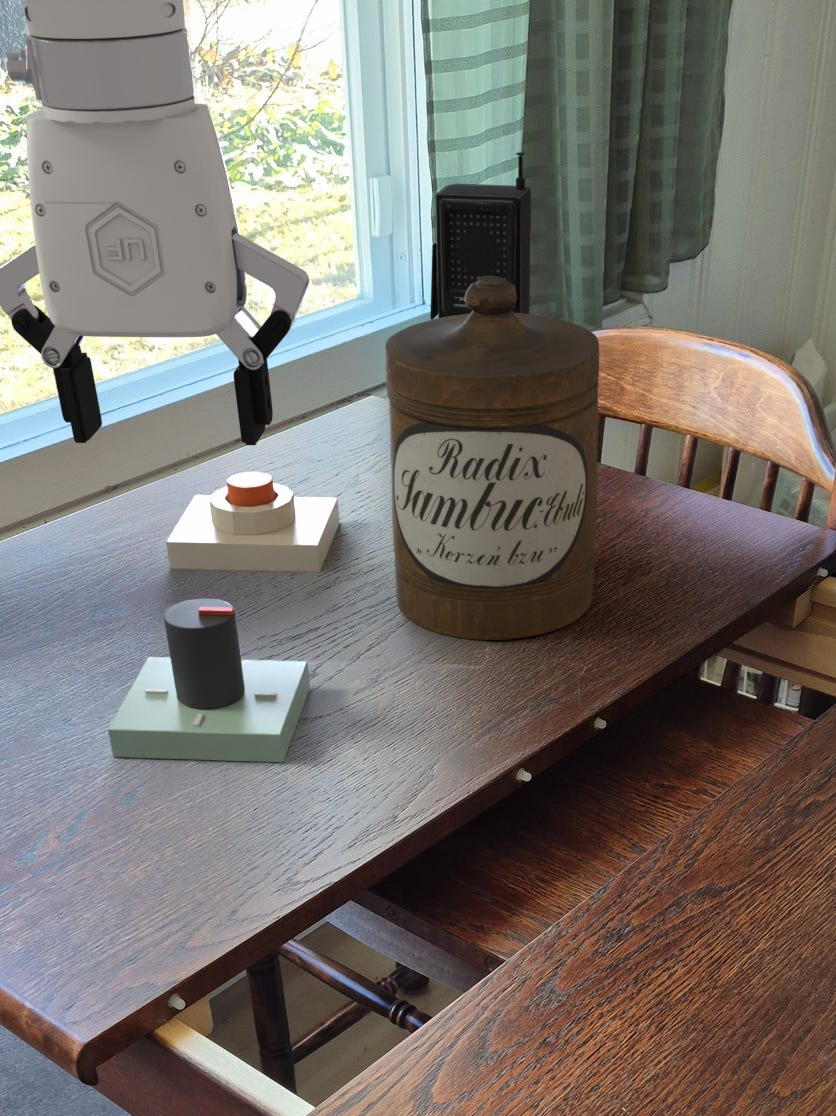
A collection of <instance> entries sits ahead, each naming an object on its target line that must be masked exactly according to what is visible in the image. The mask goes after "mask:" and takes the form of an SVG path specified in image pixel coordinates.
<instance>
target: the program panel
mask: <svg viewBox="0 0 836 1116" xmlns="http://www.w3.org/2000/svg"><path fill="white" fill-rule="evenodd" d="M241 663H242V671H243V678H244V686H245V692H244V695H243V696H242V697H241V698H240V699H239V700H238V701H236V702H235V703H233V704H230V705H228V706H224V707H220V708H214V709H197V708H192V707H188V706H186V705H184V704H182V703H181V702H180V701H179V700H178V698H177V695H176V689H175V683H174V677H173V671H172V665H171V658H170V657H155V656H148V657H147V658H146V660H145V662H144V663H143V665H142V667H141V669H140V670H139V673H138V674H137V676H136V678H135V680H134V681H133V683H132V684H131V687H130V688H129V690H128V692H127V694H126V696H125V698H124V700H123V701H122V703H121V705H120V706H119V708H118V710H117V712H116V714H115V716H114V717H113V719H112V721H111V722H110V724H109V726H108V728H107V733H108V739H109V744H110V749H111V753H112V757H114V758H129V759H131V758H133V759H159V760H160V759H162V760H163V759H165V760H192V761H193V760H195V761H223V762H224V761H225V762H226V761H227V762H254V763H255V762H258V763H284V761H285V758H286V756H287V753H288V750H289V747H290V744H291V742H292V739H293V738H294V734H295V731H296V728H297V725H298V723H299V720H300V717H301V715H302V712H303V709H304V706H305V704H306V700H307V698H308V696H309V692H310V690H311V682H310V681H311V680H310V671H309V662H308V661H302V660H301V661H298V660H267V659H266V660H265V659H259V660H258V659H241Z"/></svg>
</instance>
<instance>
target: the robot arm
mask: <svg viewBox="0 0 836 1116" xmlns="http://www.w3.org/2000/svg"><path fill="white" fill-rule="evenodd" d="M22 4H23V10H24V15H25V21H26V25H27V31H28V36H25V38H24V39H25V45H23V46H21V47H20V48H19V49H8V50H6V53H5V64H6V71H7V74H8V77H9V79H10V81H11V82H13V83H25V84H26V85H27V86H32V87H33V90H34V93H35V99H36V101H37V102H39V101H40V102H41V109H38V110H36V111H33V112H30V113H28V114H27V115H26V154H27V155H26V157H27V158H26V159H27V173H28V174H27V175H28V187H29V200H30V208H31V209H30V210H31V217H32V218H31V220H32V228H33V236H34V244H32V245H31V246H29V247H27V248H26V249H25V250H23V251H22V252H19V254H17V255H16V256H14V257H13V258H11V259H10V260H8V261H7V262H6V263H4V264H2V265H1V266H0V308H1V309H2V311H3V312H4V314H5V315H6V316H8V318H9V319H10V320H11V321H10V323H11V326H12V328H13V329H14V331H15V332H16V333H17V334H18V335H19V336H20V337H21V338H22V339H23V340H24V341H25V342H27V343H28V344H29V345H30V346H31V347H32V348H33V349H34V350H36V351H37V352H38V353H39V354H40V356H41V359H42V362H43V363H44V365H46V366H47V367H49V368H51V369H52V371H53V376H54V381H55V385H56V386H55V387H56V391H57V395H58V396H57V397H58V400H59V405H60V411H61V416H62V419H63V421H64V423H67V424H68V423H69V424H70V427H71V432H72V436H73V441H74V443H75V444H86V443H87V442H88V441H90V440H91V439H92V437H93V436H94V435H96V433H97V432H98V431H100V429H101V427H103V419H102V414H101V409H100V403H99V397H98V392H97V391H98V390H97V386H96V381H95V375H94V370H93V365H92V360H91V357H90V356H88V353H87V352H82V348H81V343H82V342H83V340H84V338H85V337H99V338H100V337H101V338H201V337H203V338H204V337H210V336H214V335H216V336H217V337H218V338H219V339H220V340H221V342H222V343H223V344H224V345H225V346H226V347H227V348H228V349H229V350H230V352H231V353H232V354H233V355H234V356H235V357H236V358H237V360H238V365H237V367H236V368H235V369H234V371H233V384H234V392H235V399H236V406H237V415H238V424H239V433H240V440H241V443H243V444H245V446H256V445H257V444H258V442H259V440H260V439H261V437H262V436H263V434H264V433H265V431H266V426H270V425H271V423H272V422H273V415H274V413H273V411H274V409H273V400H272V391H271V383H270V374H269V364H268V358H269V357H270V355H272V353H273V352H274V350H275V349H276V348H277V347H278V346H279V344H280V343H281V342H282V341H283V339H285V337H286V336H287V335H288V333H289V332H290V330H291V329H292V328H293V326H294V325H295V322H296V318H297V315H298V313H299V310H300V308H301V305H302V303H303V300H304V297H305V295H306V292H307V290H308V286H309V285H310V284H309V283H310V277H309V274H308V273H307V272H306V271H305V270H304V269H303V268H301V267H299V266H298V265H296V264H294V263H292V262H290V261H288V260H286V259H284V258H283V257H281V256H279V255H278V254H276V253H274V252H272V251H269V250H268V249H266V248H265V247H263V246H261V245H259V244H257V243H256V242H254V241H252V240H250V239H249V238H247V237H245V236H243V235H242V234H240V230H239V229H240V228H239V224H238V218H237V214H236V213H237V212H236V209H235V208H236V207H235V203H234V197H233V193H232V188H231V184H230V180H229V175H228V171H227V167H226V162H225V158H224V155H223V151H222V147H221V144H220V140H219V139H220V138H219V136H218V132H217V129H216V126H215V122H214V120H213V116H212V113H211V109H210V107H209V105H208V104H205V103H197V99H196V91H195V84H194V83H195V82H194V75H193V66H192V59H191V51H190V43H189V36H188V29H187V22H186V15H185V14H186V13H185V6H184V0H22ZM38 275H39V280H40V286H41V291H42V296H43V297H42V298H43V301H44V306H45V308H46V313H45V312H44V311H43V310H41V309H40V307H38V306H37V305H36V304H34V303H33V302H32V300H31V297H30V295H29V294H28V292H27V288H26V285H27V282H29V281H30V280H32V279H33V278H34V277H36V276H38ZM247 275H249V276H250V277H252V278H253V279H256V280H258V281H259V282H261V283H263V284H264V285H266V286H268V287H270V288H271V289H272V290H273V292H274V294H275V300H274V303H273V306H272V309H271V311H270V315H269V316H268V318H266V319H265V321H264V322H263V323H262V325H261V324H260V323H259V322H258V321H257V320H256V319H255V317H254V316H253V315H252V314H251V313H250V312H249V311H248V309H247V308H246V307H245V306H246V303H247V298H248V297H247V296H248V295H247V293H248V288H247Z"/></svg>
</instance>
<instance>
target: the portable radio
mask: <svg viewBox="0 0 836 1116" xmlns="http://www.w3.org/2000/svg"><path fill="white" fill-rule="evenodd" d="M515 155H516V156H518V157H517V158H518V159H517V160H518V161H517V163H518V165H517V166H518V167H517V168H518V171H517V172H518V175H517V176H518V177H516V178H515V185H511V184H509V185H508V184H483V183H482V184H481V183H480V184H479V183H452V184H447V185H444V186H443V187H442V188H441V189H440V190H438V191H437V192H436V193H435V201H434V202H435V229H436V230H435V231H436V234H435V237H436V241H435V242H434V243H433V244H432V245H431V246H432V247H431V276H430V277H431V278H430V281H431V282H430V316H429V317H430V319H429V320H433V319H436V317H437V316H438V318H442V317H448V316H454V315H462V314H470V313H471V312H472V310H471V309H470V308H469V307H468V306H467V305H466V303H465V293H466V291H467V289H468V288H469V287H470V285H471V284H473V283H475V282H477V281H478V279H479V278H480V277H483V276H497V277H501V278H504V279H505V280H506V282H509V283H511V284H513V285H514V287H515V289H516V294H517V300H516V303H515V306H514V308H513V309H512V311H513V312H514V313H522V314H530V305H531V303H530V302H531V299H530V298H531V297H530V296H531V294H530V291H531V231H532V191H531V190H532V189H531V187H530V186H527V185H526V178H525V177H523V156H525V152H522V151H521V152H520V151H519V152H516V153H515Z"/></svg>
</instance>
